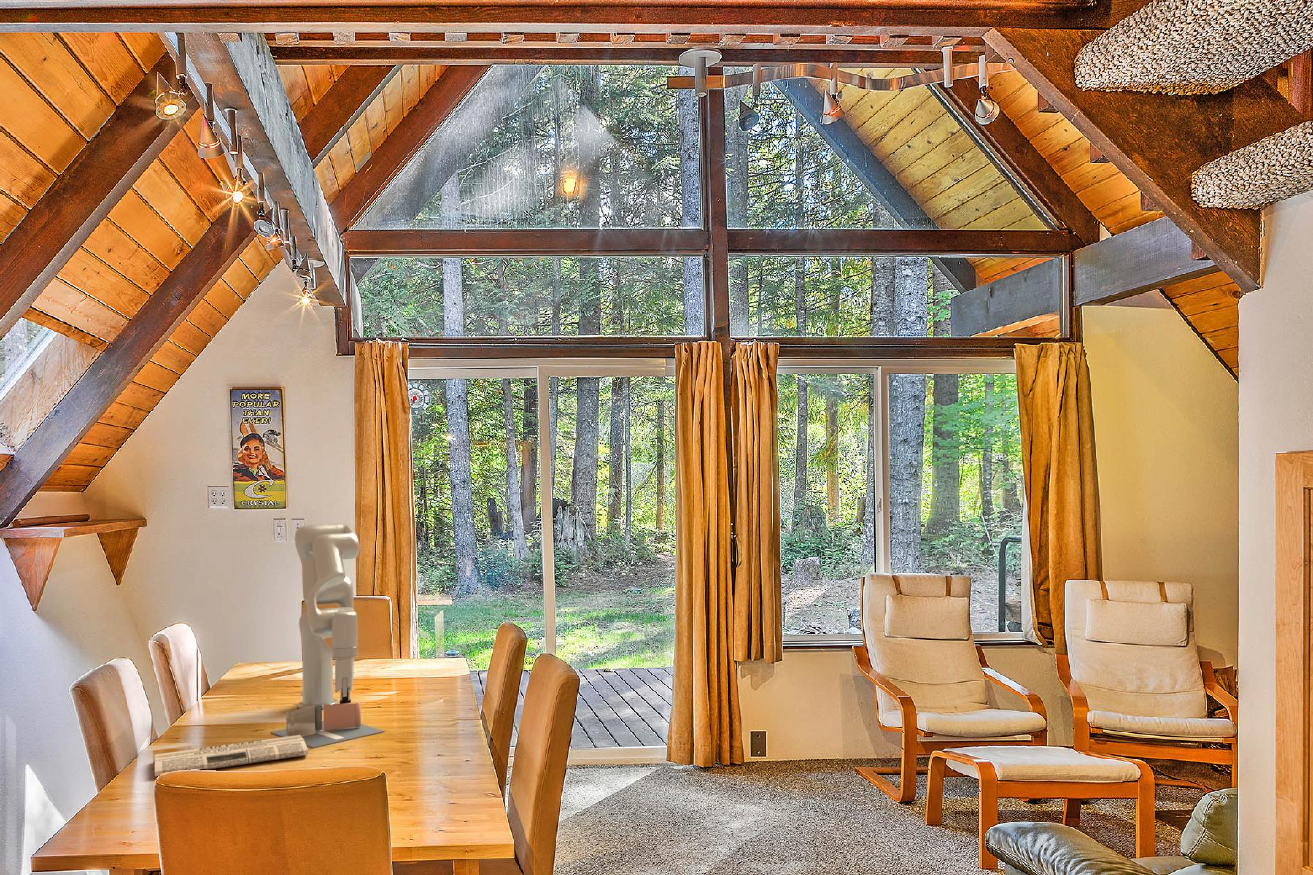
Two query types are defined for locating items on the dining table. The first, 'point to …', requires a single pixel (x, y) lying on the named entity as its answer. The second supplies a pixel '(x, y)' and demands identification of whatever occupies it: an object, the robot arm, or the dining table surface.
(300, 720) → the fence fixed
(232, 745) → the newspaper
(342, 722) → the fence panel
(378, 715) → the dining table surface
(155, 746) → the dining table surface
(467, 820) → the dining table surface
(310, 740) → the card
